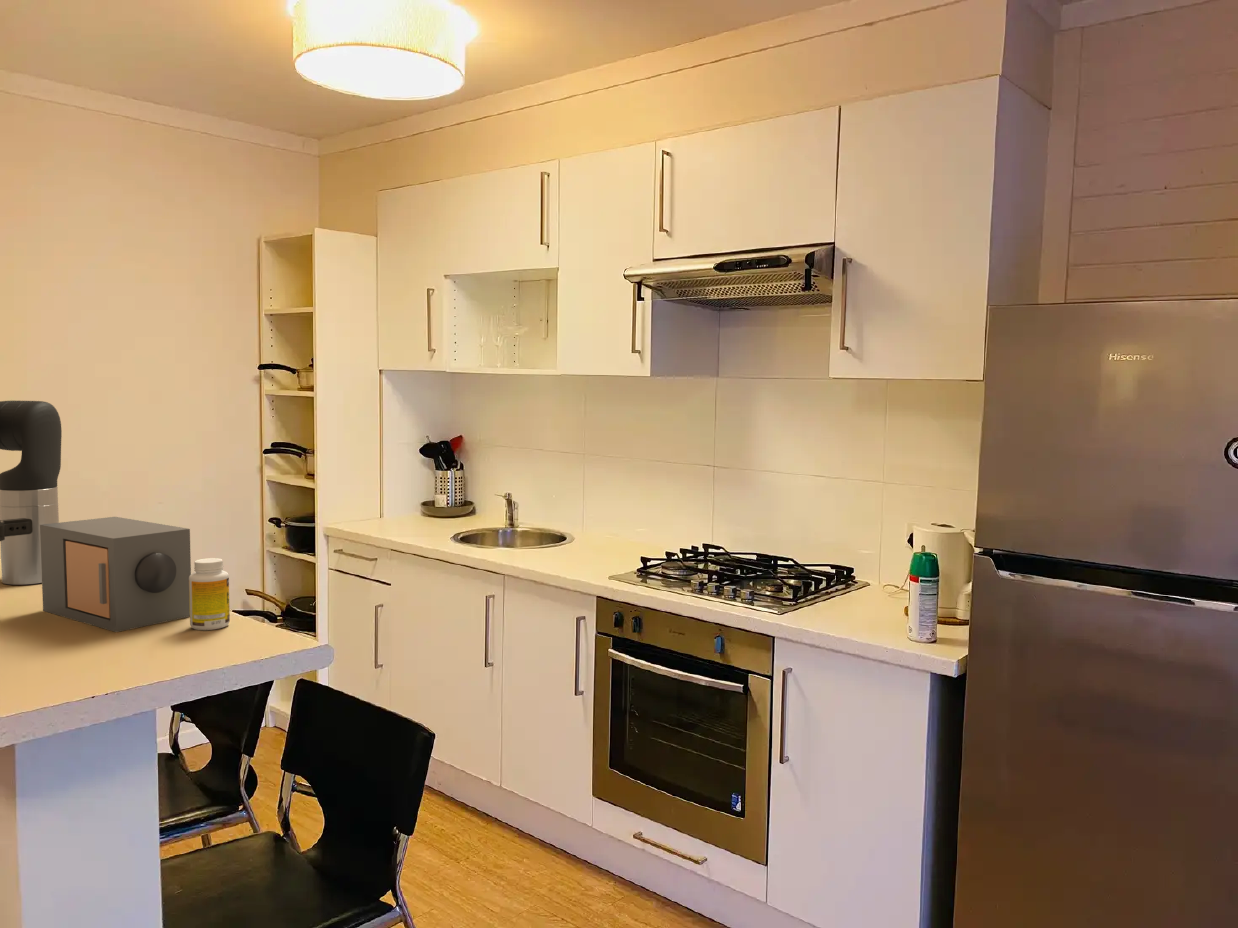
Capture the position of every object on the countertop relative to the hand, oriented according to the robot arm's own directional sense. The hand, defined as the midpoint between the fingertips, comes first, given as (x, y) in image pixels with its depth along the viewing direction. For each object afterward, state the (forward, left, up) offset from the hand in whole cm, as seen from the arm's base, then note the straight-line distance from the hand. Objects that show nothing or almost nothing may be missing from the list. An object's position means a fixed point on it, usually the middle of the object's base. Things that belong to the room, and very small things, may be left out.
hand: (29, 525), depth 132 cm
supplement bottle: (+14, +19, -17) cm, 29 cm away
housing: (-5, +15, -16) cm, 22 cm away
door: (-2, +9, -15) cm, 17 cm away
